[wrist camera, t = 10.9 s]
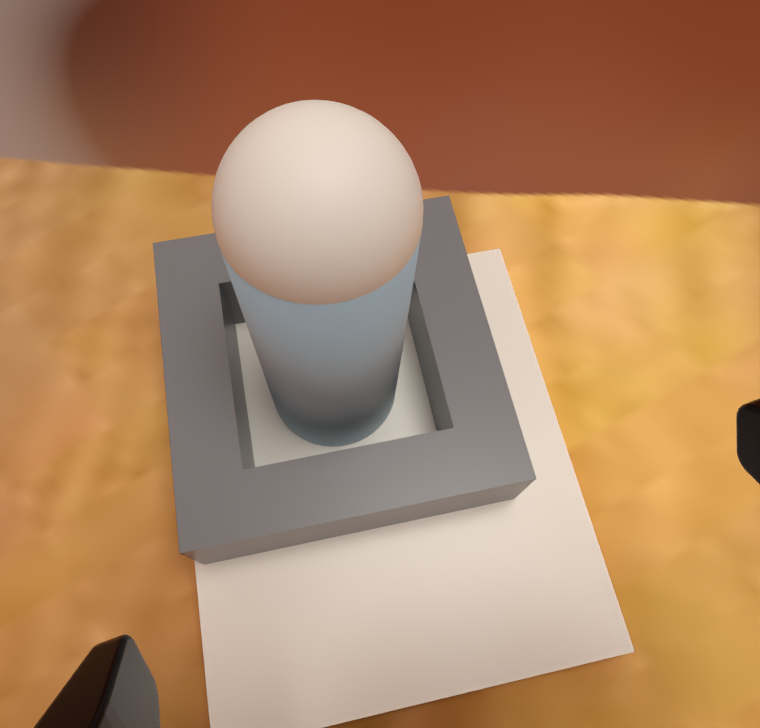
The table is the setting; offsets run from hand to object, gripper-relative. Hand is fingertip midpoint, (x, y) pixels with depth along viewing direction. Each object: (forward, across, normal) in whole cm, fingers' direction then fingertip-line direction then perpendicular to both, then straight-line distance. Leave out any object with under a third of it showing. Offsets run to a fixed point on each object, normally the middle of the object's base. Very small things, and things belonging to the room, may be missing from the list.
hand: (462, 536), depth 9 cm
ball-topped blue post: (+14, 0, +4) cm, 14 cm away
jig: (+13, -1, +6) cm, 14 cm away
